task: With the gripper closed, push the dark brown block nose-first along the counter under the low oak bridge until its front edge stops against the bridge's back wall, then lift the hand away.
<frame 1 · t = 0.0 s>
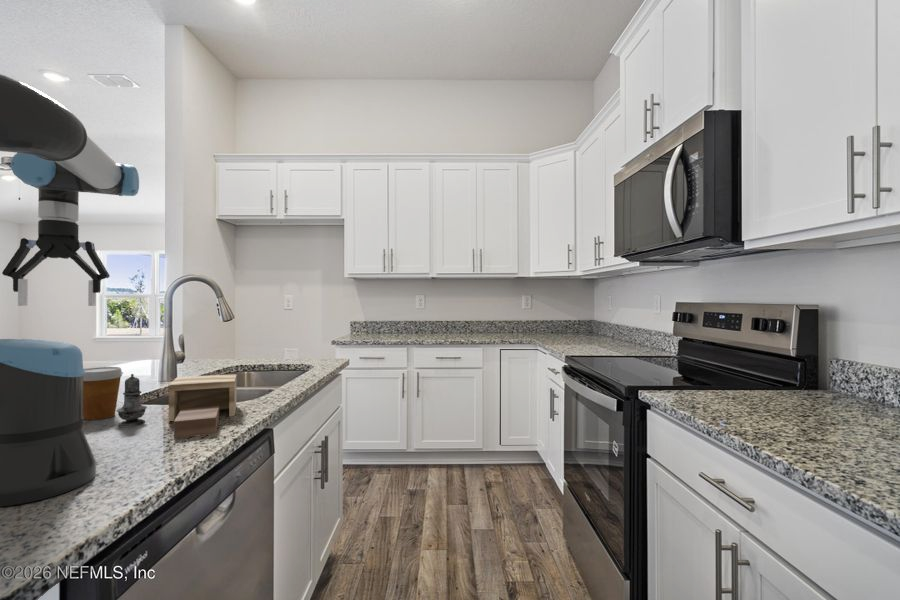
hand: (58, 305, 109), 28 cm above the countertop, tool pointing down, fingers open, 13 cm apart
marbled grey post: (131, 424, 105), on the countertop
disposable coffee cup: (99, 417, 110), on the countertop
dark brown block: (198, 430, 101), on the countertop
oak bridge: (204, 414, 114), on the countertop
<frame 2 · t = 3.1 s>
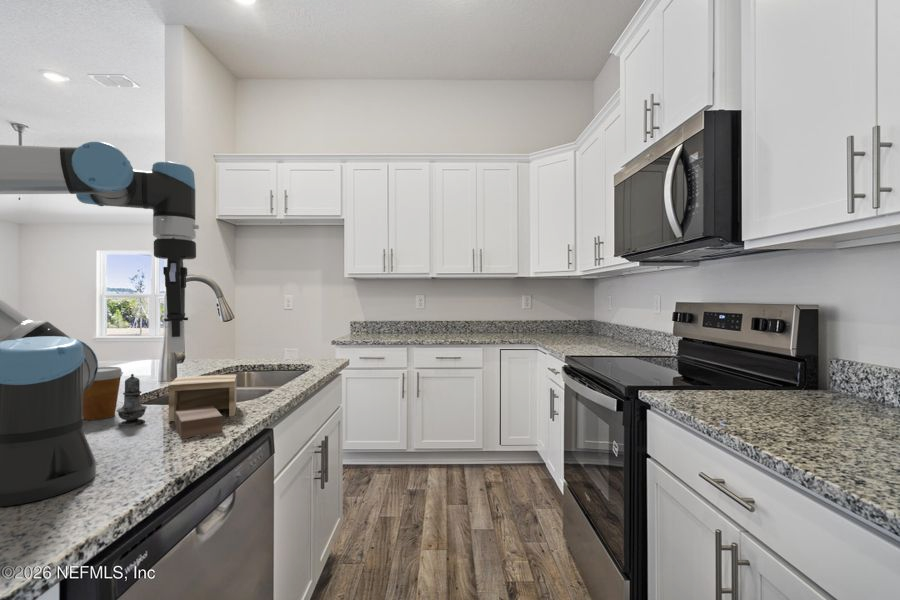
hand: (176, 352, 91), 19 cm above the countertop, tool pointing down, fingers closed
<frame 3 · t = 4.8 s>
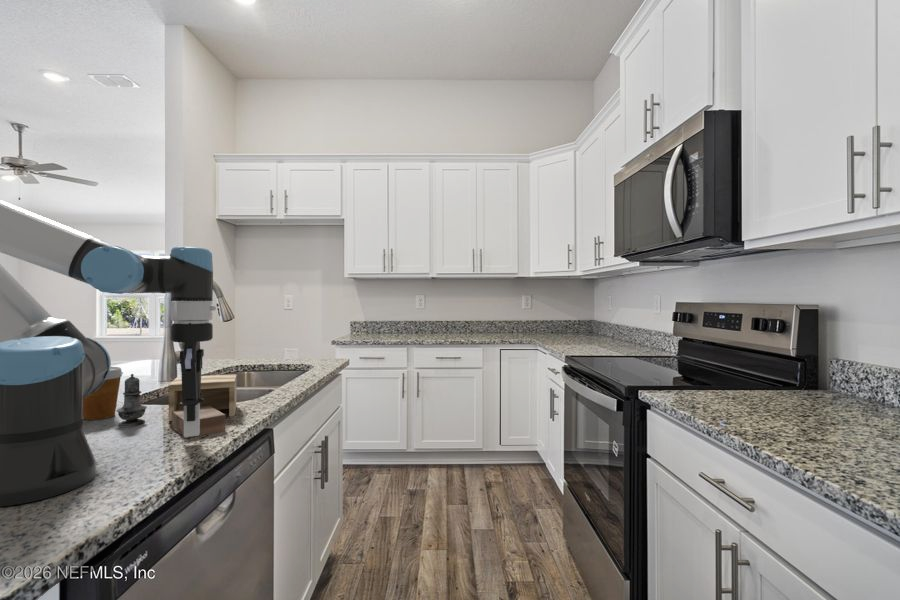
hand: (191, 435, 91), 2 cm above the countertop, tool pointing down, fingers closed
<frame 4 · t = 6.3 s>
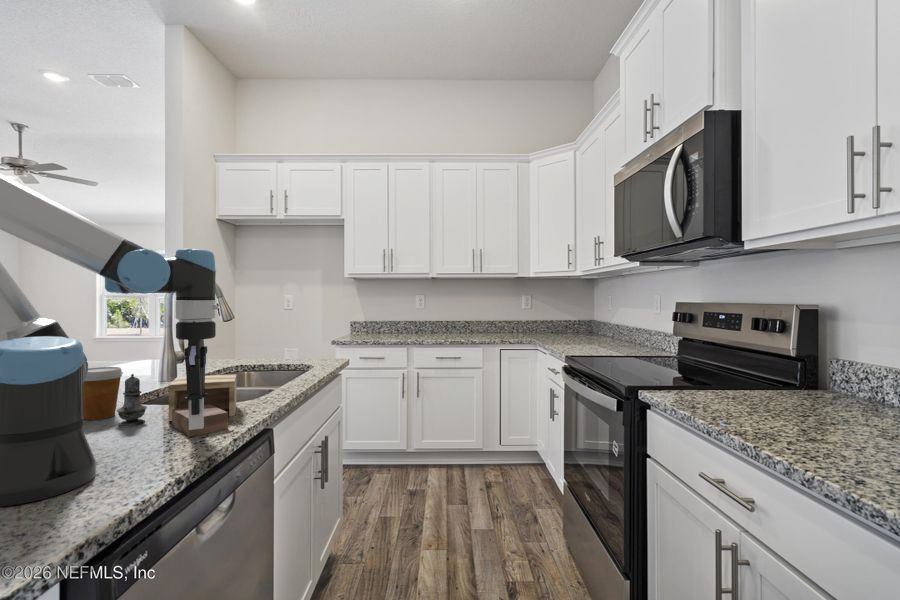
hand: (196, 428, 95), 2 cm above the countertop, tool pointing down, fingers closed
dark brown block: (199, 427, 102), on the countertop
everything else where it was.
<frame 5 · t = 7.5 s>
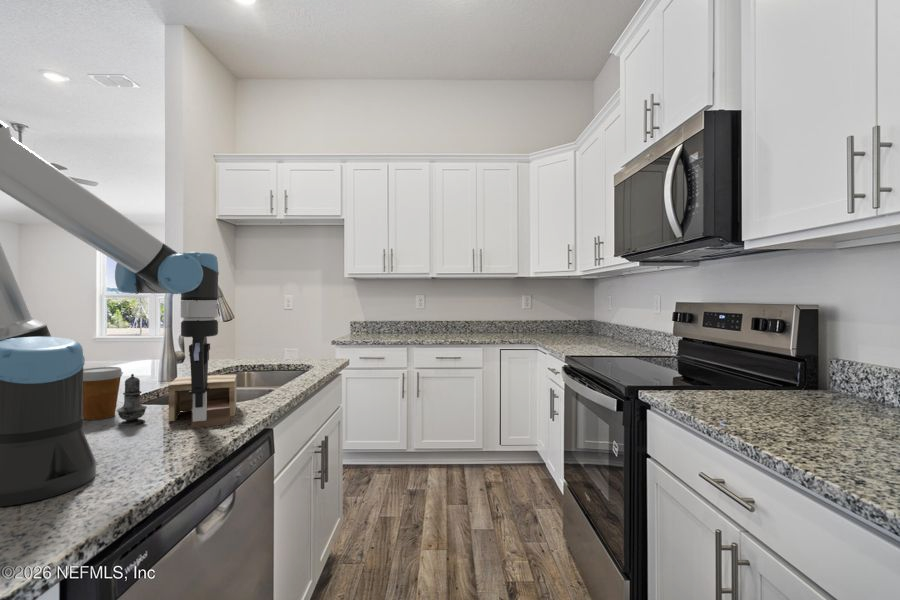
hand: (199, 420, 102), 2 cm above the countertop, tool pointing down, fingers closed
dark brown block: (210, 420, 109), on the countertop, touching gripper
everything else where it was.
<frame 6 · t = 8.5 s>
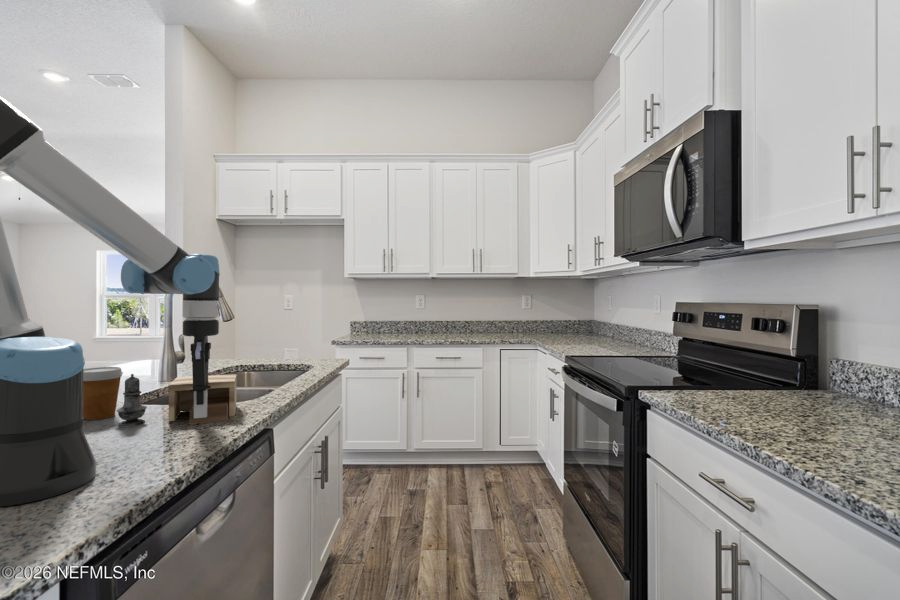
hand: (200, 417, 105), 2 cm above the countertop, tool pointing down, fingers closed
dark brown block: (211, 418, 112), on the countertop, touching gripper
everything else where it was.
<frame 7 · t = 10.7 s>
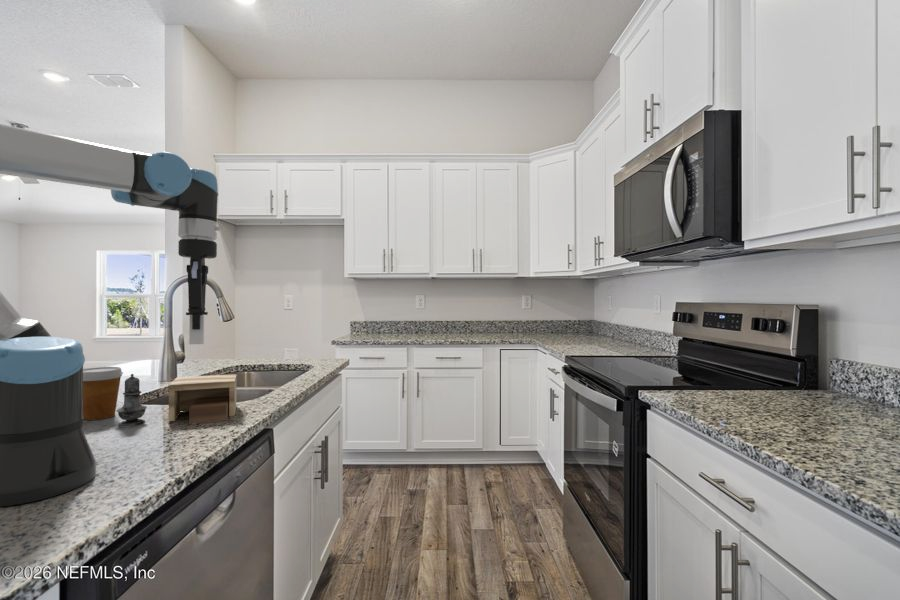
hand: (196, 343, 99), 20 cm above the countertop, tool pointing down, fingers closed
dark brown block: (211, 417, 112), on the countertop
everything else where it was.
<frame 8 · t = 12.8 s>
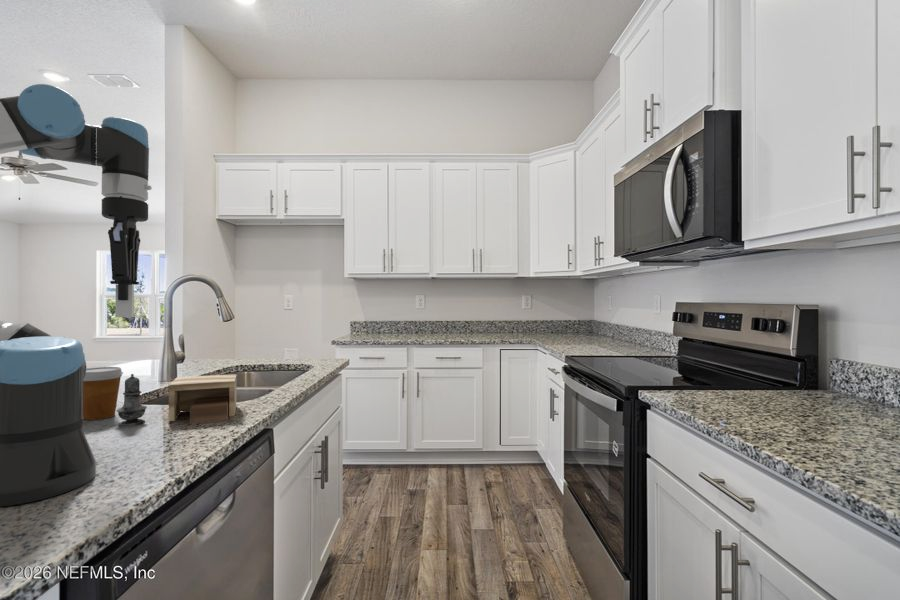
hand: (124, 316, 88), 26 cm above the countertop, tool pointing down, fingers closed
nothing on the countertop moved.
at the end: dark brown block 1.9 cm from the target spot on the oak bridge, point 0.0 cm above the oak bridge's base; dark brown block moved 10.9 cm from its start; dark brown block tilted 0° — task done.
